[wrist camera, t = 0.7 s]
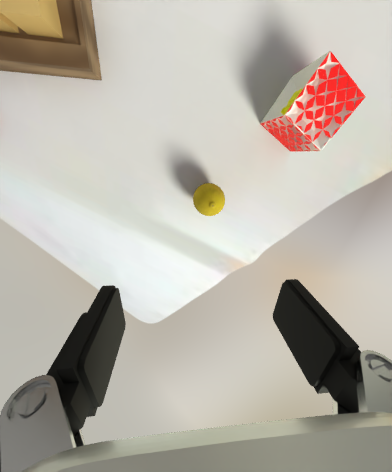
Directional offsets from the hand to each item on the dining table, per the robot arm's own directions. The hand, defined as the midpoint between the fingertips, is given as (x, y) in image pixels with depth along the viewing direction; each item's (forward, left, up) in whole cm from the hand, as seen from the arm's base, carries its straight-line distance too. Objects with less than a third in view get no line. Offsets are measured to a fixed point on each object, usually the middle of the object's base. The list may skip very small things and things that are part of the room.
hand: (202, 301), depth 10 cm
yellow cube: (-22, -18, -25) cm, 37 cm away
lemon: (0, +4, -28) cm, 28 cm away
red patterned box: (-14, +18, -28) cm, 36 cm away
